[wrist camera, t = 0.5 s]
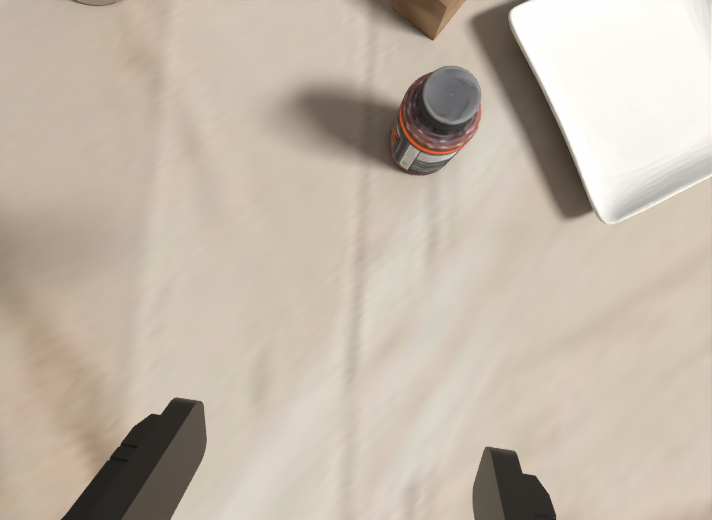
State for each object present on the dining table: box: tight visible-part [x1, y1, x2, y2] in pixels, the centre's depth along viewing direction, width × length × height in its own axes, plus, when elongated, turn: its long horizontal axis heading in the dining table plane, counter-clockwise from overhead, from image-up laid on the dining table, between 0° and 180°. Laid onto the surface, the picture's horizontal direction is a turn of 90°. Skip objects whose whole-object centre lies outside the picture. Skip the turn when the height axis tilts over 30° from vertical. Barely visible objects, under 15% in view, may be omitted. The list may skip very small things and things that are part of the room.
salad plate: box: [508, 0, 712, 224], centre depth 39 cm, size 21×21×3 cm
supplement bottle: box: [389, 66, 482, 175], centre depth 33 cm, size 6×6×11 cm
